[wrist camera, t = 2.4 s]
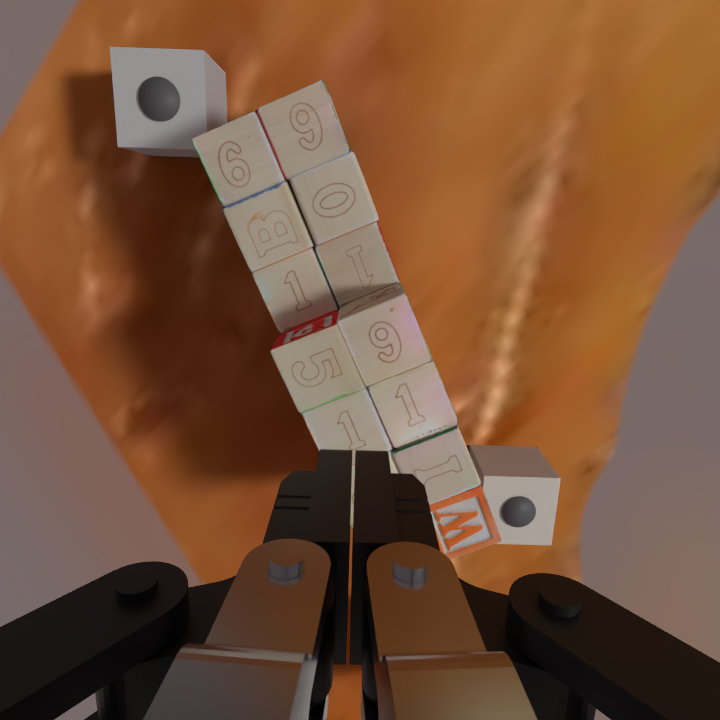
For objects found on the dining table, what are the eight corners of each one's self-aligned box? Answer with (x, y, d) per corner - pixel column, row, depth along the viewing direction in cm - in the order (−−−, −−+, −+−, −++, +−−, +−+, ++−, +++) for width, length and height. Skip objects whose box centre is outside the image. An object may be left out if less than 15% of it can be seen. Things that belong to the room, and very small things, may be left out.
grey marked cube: (145, 70, 31) (108, 46, 26) (225, 73, 31) (202, 49, 26) (150, 155, 32) (116, 146, 27) (228, 158, 32) (206, 149, 27)
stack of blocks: (237, 156, 32) (162, 123, 20) (336, 114, 31) (321, 52, 19) (370, 469, 37) (375, 590, 25) (458, 437, 36) (505, 546, 24)
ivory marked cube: (469, 444, 36) (484, 477, 32) (536, 446, 36) (561, 479, 32) (464, 504, 38) (478, 544, 33) (529, 506, 38) (552, 546, 33)
